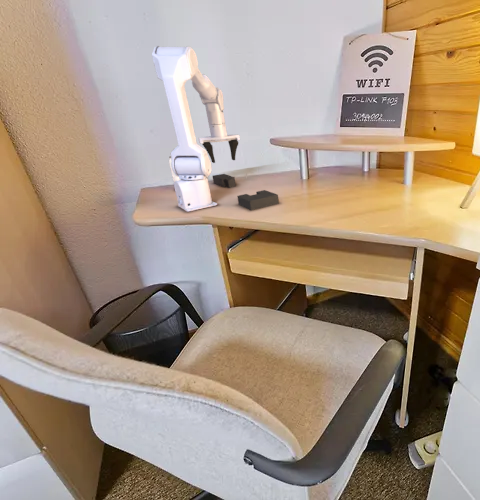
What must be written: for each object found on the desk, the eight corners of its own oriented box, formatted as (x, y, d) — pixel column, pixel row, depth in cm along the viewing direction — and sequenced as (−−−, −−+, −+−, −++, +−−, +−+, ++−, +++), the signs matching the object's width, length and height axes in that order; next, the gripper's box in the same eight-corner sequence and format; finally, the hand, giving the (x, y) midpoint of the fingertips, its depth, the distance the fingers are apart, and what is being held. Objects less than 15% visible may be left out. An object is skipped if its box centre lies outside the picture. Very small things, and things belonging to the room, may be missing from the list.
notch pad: (251, 210, 97) (249, 201, 96) (238, 204, 102) (237, 195, 101) (278, 203, 104) (278, 194, 102) (265, 198, 109) (264, 189, 107)
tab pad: (226, 188, 121) (225, 180, 119) (213, 183, 128) (212, 175, 126) (238, 185, 124) (237, 178, 122) (225, 180, 131) (224, 173, 130)
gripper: (233, 121, 124) (238, 157, 130) (193, 124, 116) (201, 161, 122) (239, 123, 119) (244, 160, 125) (198, 125, 111) (206, 165, 117)
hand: (223, 161), depth 123 cm, fingers open, 7 cm apart
